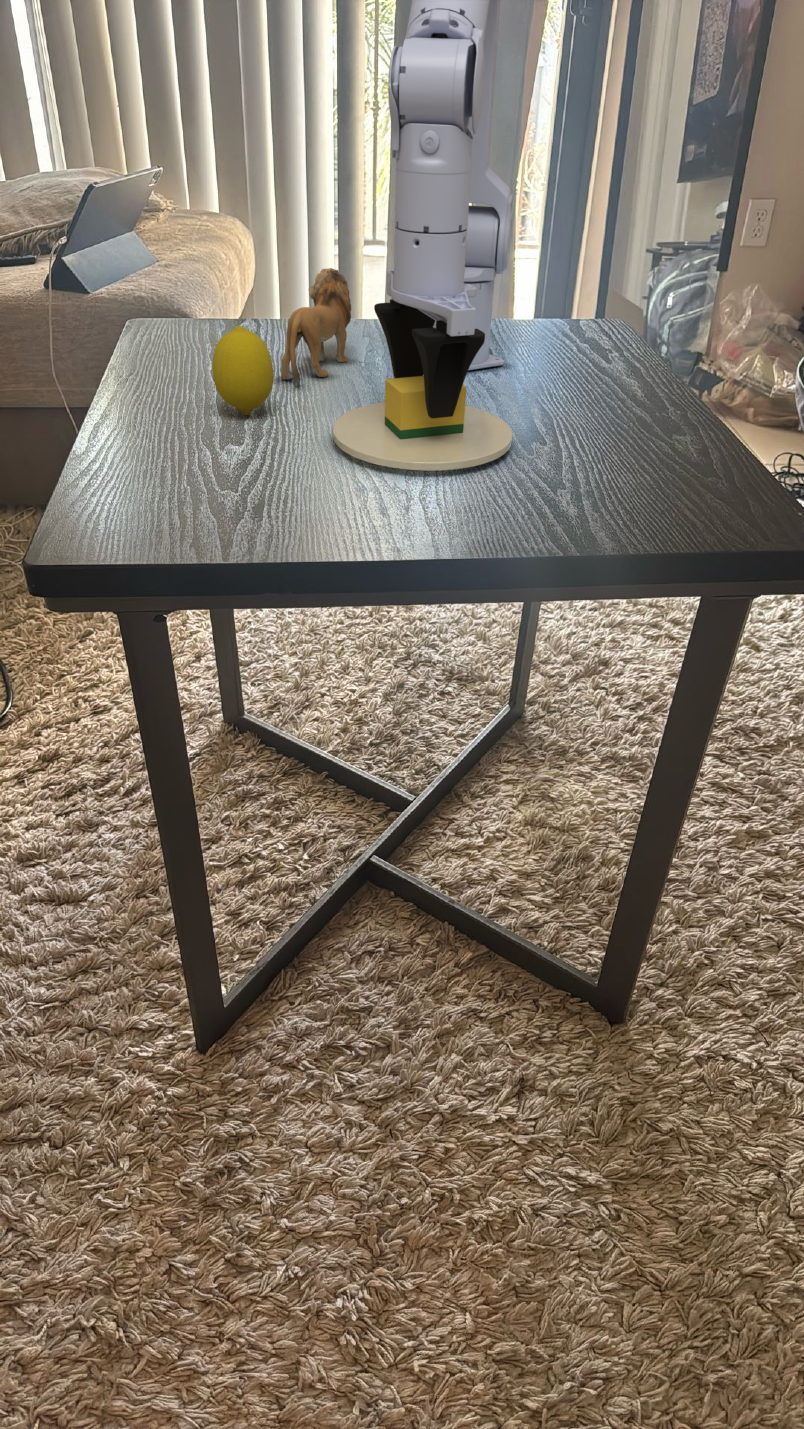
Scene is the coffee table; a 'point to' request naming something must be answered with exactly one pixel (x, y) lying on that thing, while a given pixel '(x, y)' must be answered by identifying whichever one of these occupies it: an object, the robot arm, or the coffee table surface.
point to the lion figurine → (319, 323)
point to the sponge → (417, 410)
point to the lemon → (242, 369)
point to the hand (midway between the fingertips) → (423, 402)
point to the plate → (422, 441)
